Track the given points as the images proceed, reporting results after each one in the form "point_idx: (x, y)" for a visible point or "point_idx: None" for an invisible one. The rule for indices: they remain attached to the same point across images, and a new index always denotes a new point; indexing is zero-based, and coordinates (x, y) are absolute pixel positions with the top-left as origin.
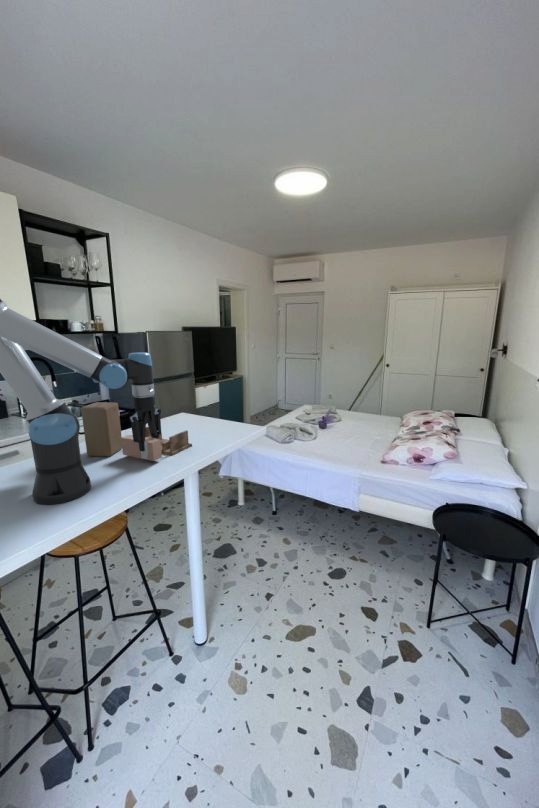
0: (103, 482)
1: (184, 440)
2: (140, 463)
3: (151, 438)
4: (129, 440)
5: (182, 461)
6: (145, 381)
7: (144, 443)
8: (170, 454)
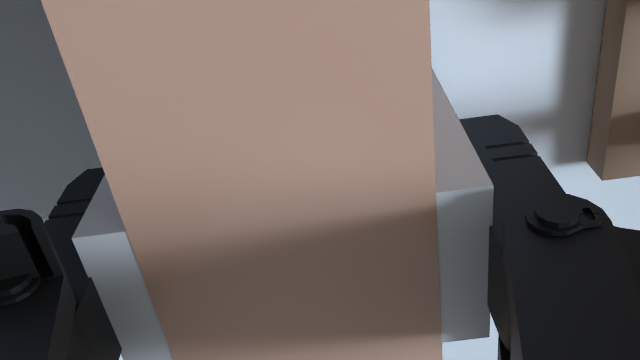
0: None
1: None
2: None
3: (425, 264)
4: None
5: (476, 356)
6: None
7: (128, 341)
8: (593, 135)
